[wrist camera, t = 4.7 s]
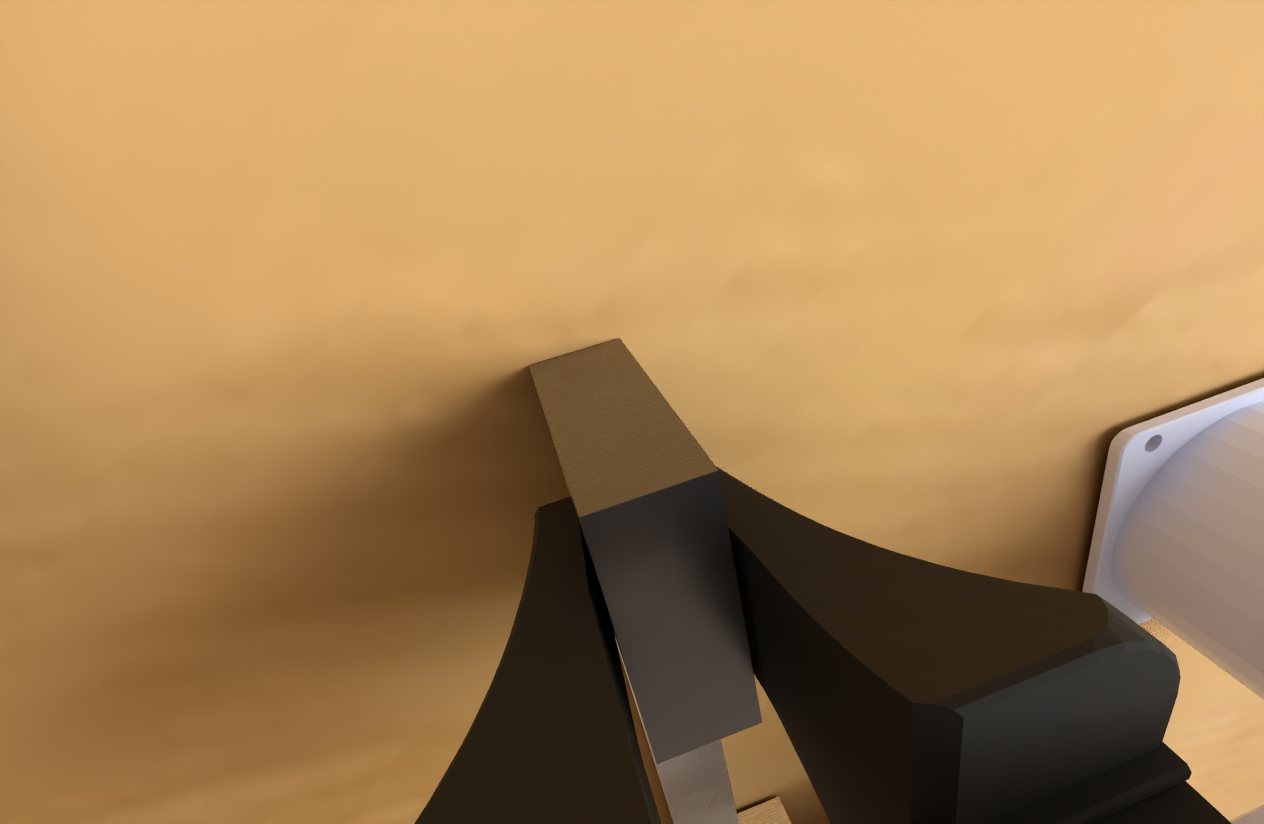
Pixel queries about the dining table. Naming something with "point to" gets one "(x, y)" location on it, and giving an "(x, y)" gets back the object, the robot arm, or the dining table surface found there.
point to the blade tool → (659, 570)
